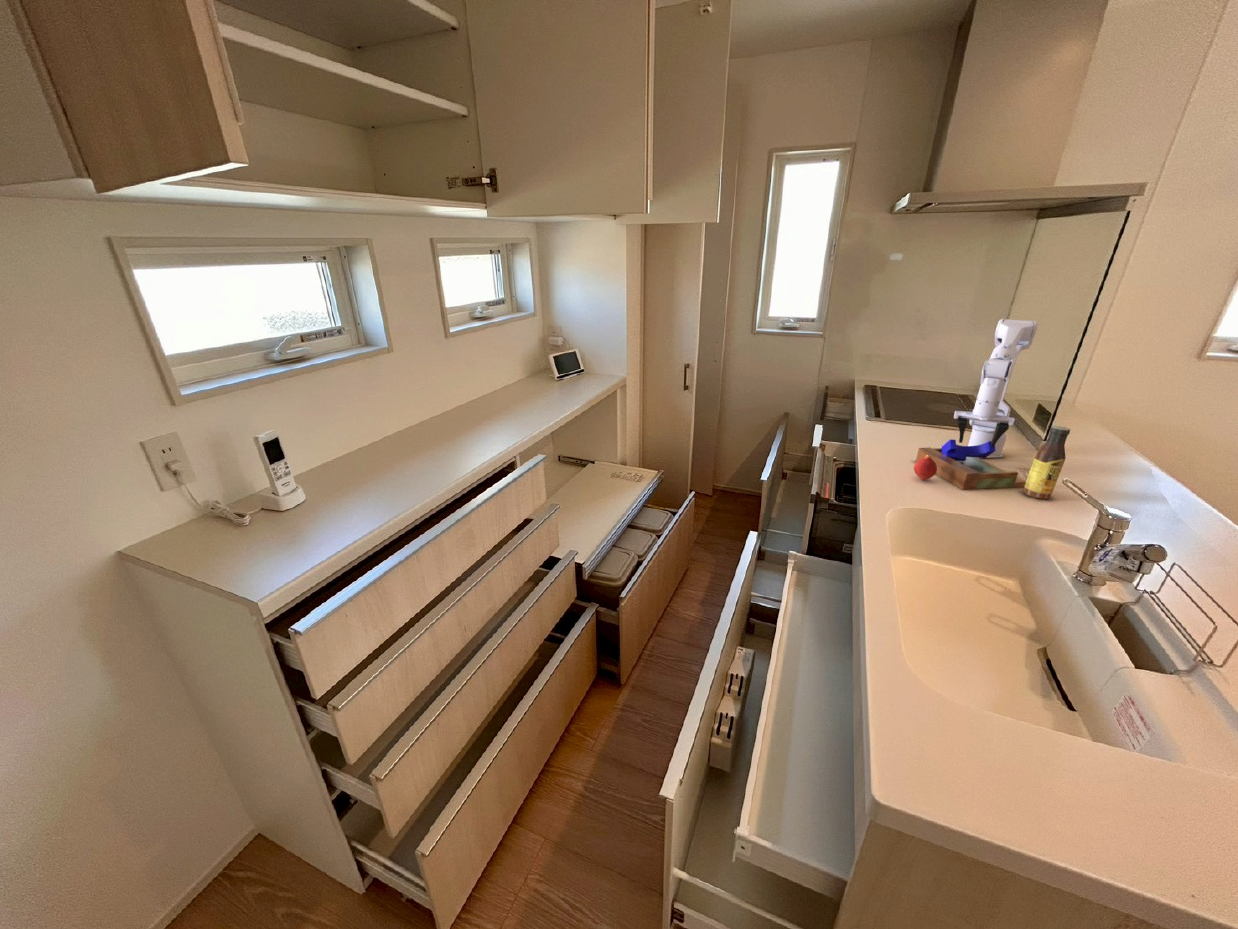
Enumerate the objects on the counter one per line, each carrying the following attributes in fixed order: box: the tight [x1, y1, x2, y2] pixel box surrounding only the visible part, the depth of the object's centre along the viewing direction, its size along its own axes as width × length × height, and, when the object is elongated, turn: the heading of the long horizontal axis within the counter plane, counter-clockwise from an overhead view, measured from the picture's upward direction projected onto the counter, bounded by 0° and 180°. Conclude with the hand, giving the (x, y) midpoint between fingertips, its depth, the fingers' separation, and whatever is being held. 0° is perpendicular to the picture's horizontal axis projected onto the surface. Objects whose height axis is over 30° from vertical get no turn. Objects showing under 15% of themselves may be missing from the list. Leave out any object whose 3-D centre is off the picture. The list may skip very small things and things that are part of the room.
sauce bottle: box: [1023, 425, 1071, 500], centre depth 136 cm, size 7×6×20 cm
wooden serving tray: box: [915, 447, 1026, 490], centre depth 153 cm, size 20×21×5 cm
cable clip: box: [941, 438, 996, 461], centre depth 152 cm, size 12×4×6 cm
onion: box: [913, 455, 937, 481], centre depth 148 cm, size 6×6×8 cm
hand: (975, 444), depth 150 cm, fingers open, 7 cm apart
